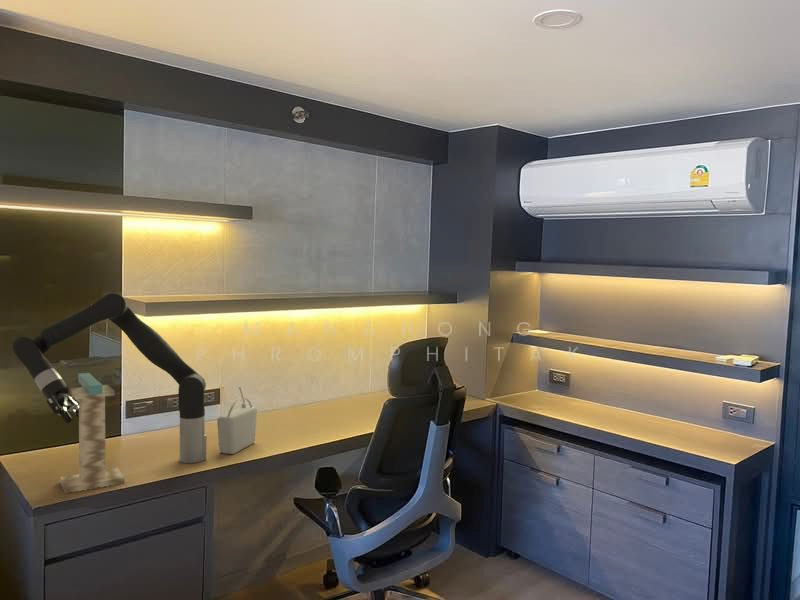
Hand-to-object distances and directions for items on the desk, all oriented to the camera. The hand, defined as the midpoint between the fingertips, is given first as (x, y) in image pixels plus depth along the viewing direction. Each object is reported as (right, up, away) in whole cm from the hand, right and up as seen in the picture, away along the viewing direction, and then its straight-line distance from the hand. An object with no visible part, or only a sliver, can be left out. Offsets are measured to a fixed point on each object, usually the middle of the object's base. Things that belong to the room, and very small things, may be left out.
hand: (77, 421), depth 207 cm
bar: (+3, +12, +1) cm, 12 cm away
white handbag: (+43, -20, +43) cm, 64 cm away
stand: (+5, -21, 0) cm, 22 cm away
